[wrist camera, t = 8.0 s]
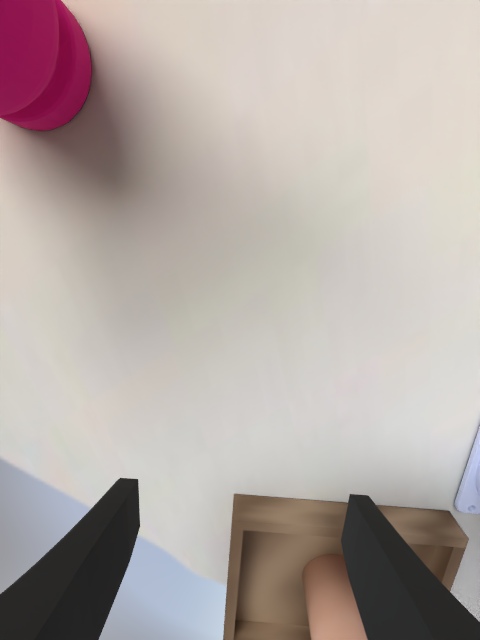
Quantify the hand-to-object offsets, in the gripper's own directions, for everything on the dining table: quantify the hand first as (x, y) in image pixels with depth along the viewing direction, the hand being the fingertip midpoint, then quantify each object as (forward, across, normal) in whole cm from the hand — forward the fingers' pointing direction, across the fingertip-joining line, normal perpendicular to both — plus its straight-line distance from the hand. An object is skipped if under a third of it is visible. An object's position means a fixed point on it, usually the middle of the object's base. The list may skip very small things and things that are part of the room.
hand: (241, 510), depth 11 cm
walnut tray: (+10, -8, +16) cm, 21 cm away
